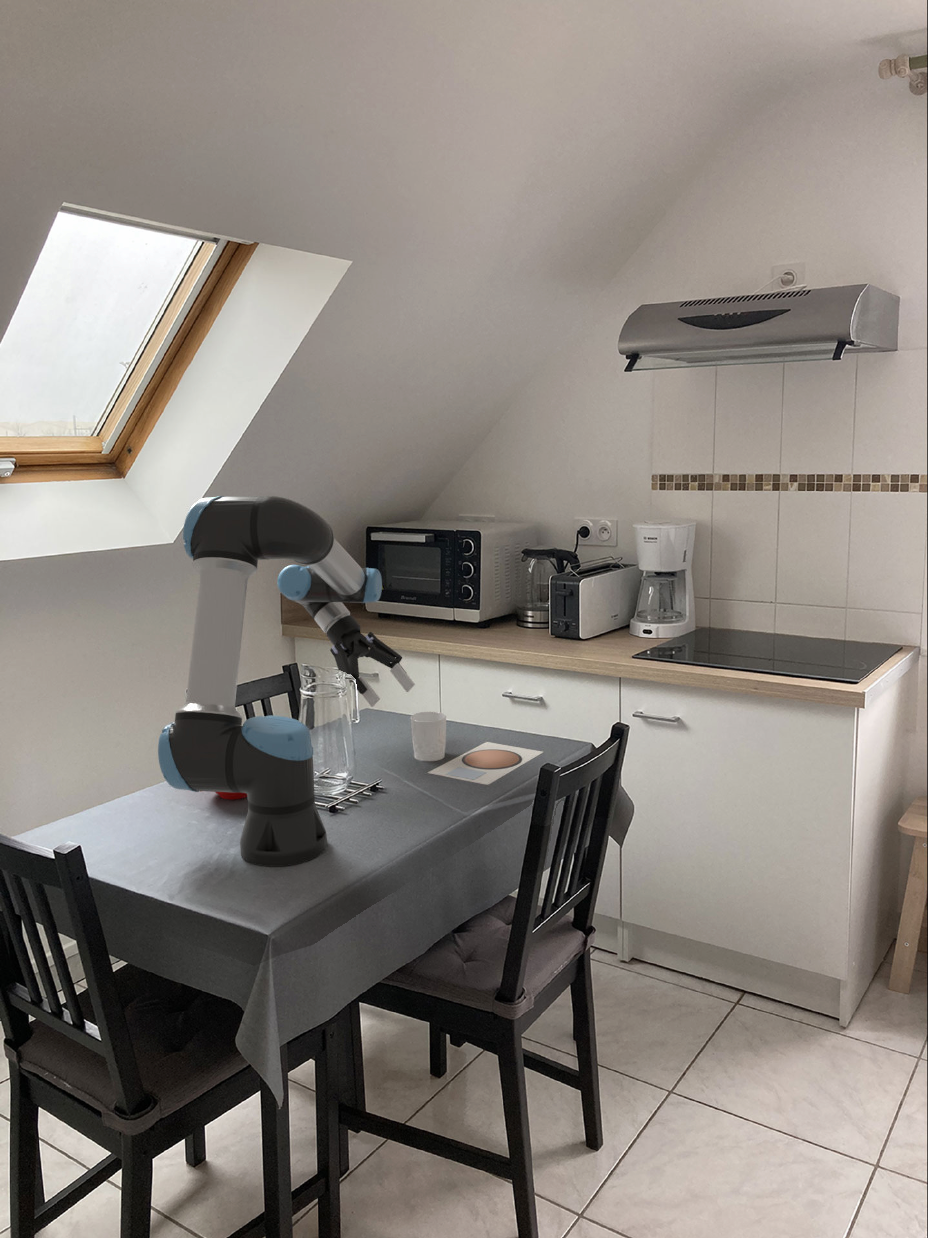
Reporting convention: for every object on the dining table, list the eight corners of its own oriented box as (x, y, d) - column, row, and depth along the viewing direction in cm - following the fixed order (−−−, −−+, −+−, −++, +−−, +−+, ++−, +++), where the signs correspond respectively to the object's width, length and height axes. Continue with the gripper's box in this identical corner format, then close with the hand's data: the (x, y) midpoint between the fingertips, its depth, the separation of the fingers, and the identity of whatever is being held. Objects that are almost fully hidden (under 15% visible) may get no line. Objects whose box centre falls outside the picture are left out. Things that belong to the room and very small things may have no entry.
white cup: (446, 765, 222) (445, 721, 220) (410, 765, 223) (409, 722, 221) (447, 753, 230) (446, 711, 228) (413, 754, 230) (411, 711, 228)
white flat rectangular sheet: (487, 788, 208) (487, 784, 207) (427, 776, 216) (427, 772, 216) (543, 755, 227) (543, 751, 227) (486, 745, 235) (486, 741, 235)
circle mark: (484, 773, 214) (483, 773, 214) (450, 757, 225) (450, 756, 225) (534, 761, 221) (534, 760, 221) (499, 746, 232) (499, 745, 232)
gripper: (362, 624, 246) (415, 692, 241) (294, 645, 225) (350, 719, 221) (379, 605, 242) (433, 673, 238) (311, 623, 222) (369, 699, 217)
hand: (394, 695), depth 229 cm, fingers open, 13 cm apart
